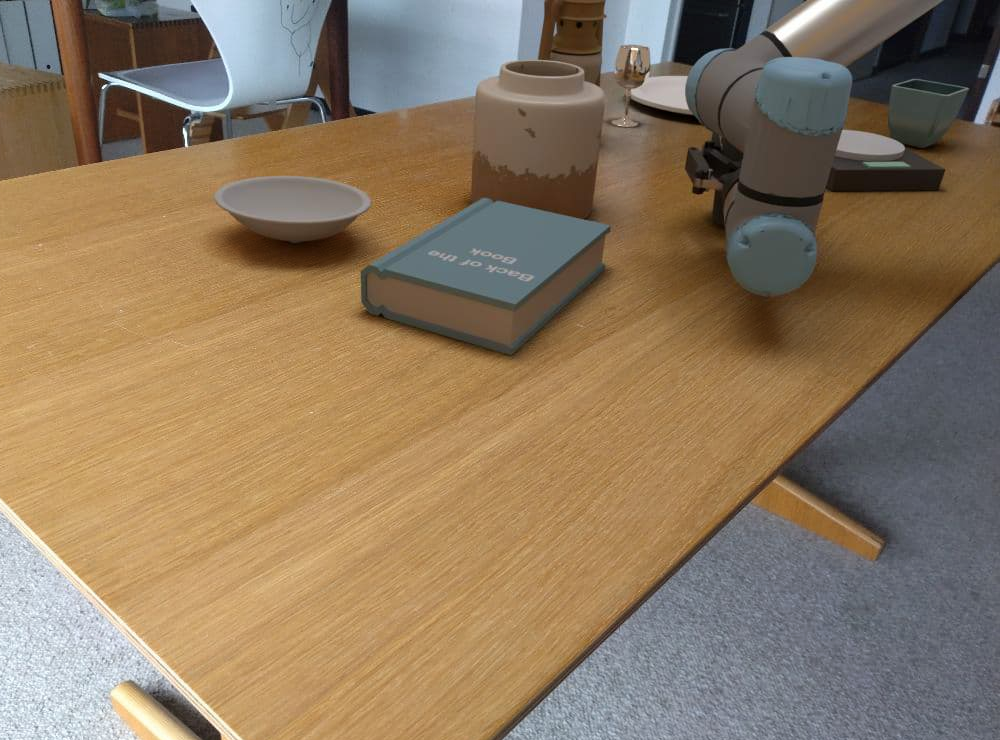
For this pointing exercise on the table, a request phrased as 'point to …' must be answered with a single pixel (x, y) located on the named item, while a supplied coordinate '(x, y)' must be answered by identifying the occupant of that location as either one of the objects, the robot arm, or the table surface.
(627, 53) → the wineglass
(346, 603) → the table surface
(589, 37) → the lantern
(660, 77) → the plate
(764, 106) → the robot arm
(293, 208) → the dish
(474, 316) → the book
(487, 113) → the vase
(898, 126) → the flower pot
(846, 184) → the scale
